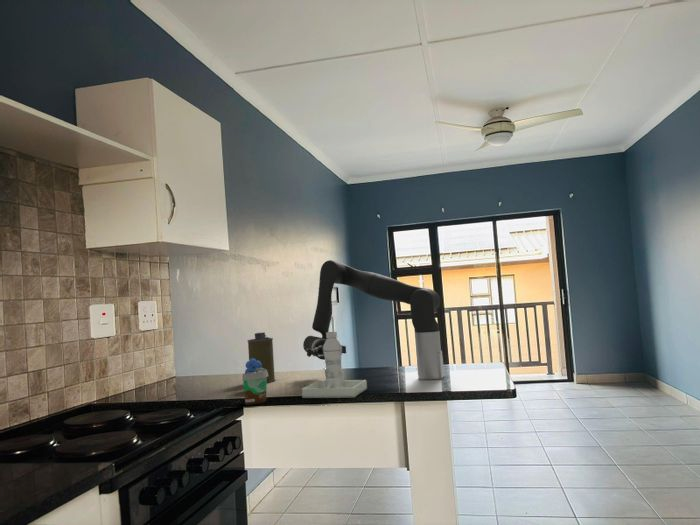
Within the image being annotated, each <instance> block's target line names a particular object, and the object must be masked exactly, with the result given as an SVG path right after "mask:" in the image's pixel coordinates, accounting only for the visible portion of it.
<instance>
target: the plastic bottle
mask: <svg viewBox="0 0 700 525" xmlns="http://www.w3.org/2000/svg"><path fill="white" fill-rule="evenodd" d="M326 338H327V340H326V342H325V344H324V346H323V353H324V357H325V360H324V364H325V380H324V381H325V386H326V388H344V385H345V382H344V380H345V378H344V374H343V369H342V368H343V366H342V355H343V353H342V346H341V345H342V344H341V343H340V341H339V340H338V332H337V331H329V332H327V333H326ZM341 354H342V355H341Z"/></svg>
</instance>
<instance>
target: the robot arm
mask: <svg viewBox="0 0 700 525" xmlns="http://www.w3.org/2000/svg"><path fill="white" fill-rule="evenodd" d="M318 281H319V283H318V295H317V303H316V309H315V313H314V317H313V321H312V325H311V327H312V329H313V331H315V332H317V333H320V335H321V337H320V336H314V335H308V336H306V337H305V338H304V340H303V343H302V347H303V350H304V351H305V352H306V356H307V357H308V358H310V357H316V358H318V359H319V360H324V361H325V357H324V353H323V346H324V344H325V342H326V340H327V338H326V333H327V332H330V325H331V321H332V317H333V316H332V315H333V302H332V294H333V289H334V286H335V284H337V285H343V286H344V285H345V286H348V287H352V288H355V289H357V290H359V291H361V292H363V293H364V294H366V295H368V296H371V297H374V298H377V299H379V300H380V299H381V300H383V301H384V300H385V301H391V302H398V303H404V304H407V305H409V306H410V308H409V309H410V316H411V323H412V326H413V328H414V339H415V352H416V365H417V366H416V367H417V375H418V376H417V377H418V379H419V380H439V379H440V380H441V379H443V378H444V377H445V372H444V371H445V370H444V359H443V357H444V356H443V351H442V347H441V333H440V324H439V322H437V320H436V316H435V315H436V314H435V311H437V309H439V308H440V305H441V297H440V296H439V294H438V292H436V291H435V290H433V289H431V288H426V287H425V288H424V287H419V286H415V285H411V284H408V283H405V282H403V281H400V280H397V279H394V278H392V277H389V276H386V275H383V274H381V273H380V274H379V273H375V272H371V271H365V270H364V271H363V270H359V269H356V268H354V267H351V266H349V265H347V264H345V263H343V262H341V261H337V260H331V259H328V260H325V262H323V264H322V265H321V267H320V271H319V280H318ZM341 346H342V354H341V356H343V354H347V346H346V345H342V344H341Z"/></svg>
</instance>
